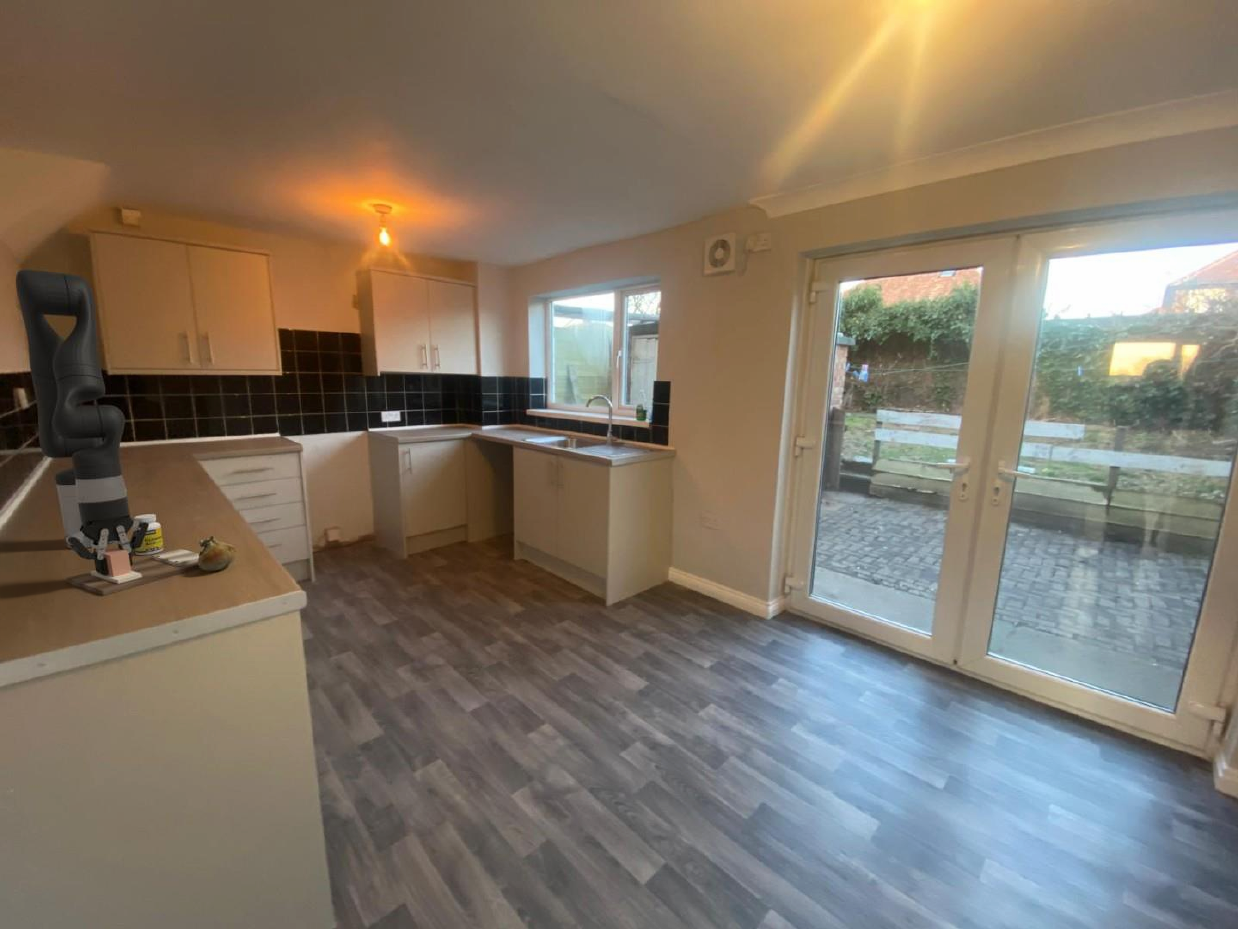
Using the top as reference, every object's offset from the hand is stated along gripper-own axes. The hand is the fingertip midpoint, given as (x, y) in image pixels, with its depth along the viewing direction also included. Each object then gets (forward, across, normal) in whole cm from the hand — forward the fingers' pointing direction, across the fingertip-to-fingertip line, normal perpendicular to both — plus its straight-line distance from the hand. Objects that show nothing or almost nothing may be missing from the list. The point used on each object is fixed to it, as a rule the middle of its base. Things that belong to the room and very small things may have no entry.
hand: (115, 571), depth 111 cm
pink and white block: (+1, 0, 0) cm, 1 cm away
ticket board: (+2, -5, 0) cm, 5 cm away
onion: (+2, -13, +13) cm, 19 cm away
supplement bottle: (+2, -13, -16) cm, 21 cm away
